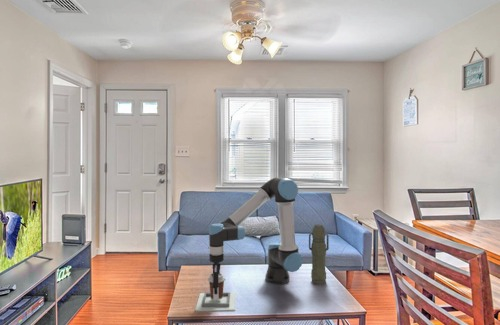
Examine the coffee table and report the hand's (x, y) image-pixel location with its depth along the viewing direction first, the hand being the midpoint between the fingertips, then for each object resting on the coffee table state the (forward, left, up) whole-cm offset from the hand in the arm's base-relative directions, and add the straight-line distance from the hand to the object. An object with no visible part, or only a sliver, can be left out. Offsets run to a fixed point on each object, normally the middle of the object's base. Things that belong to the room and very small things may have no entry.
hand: (216, 295), depth 168 cm
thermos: (-61, -25, -4) cm, 66 cm away
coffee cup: (0, 0, -1) cm, 1 cm away
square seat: (0, 0, -3) cm, 3 cm away
